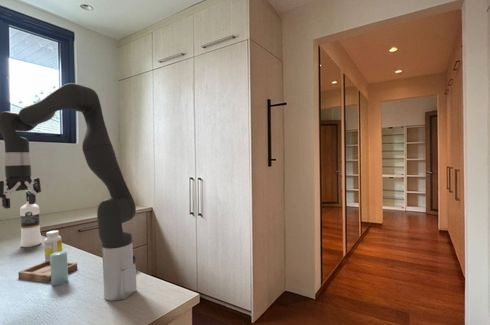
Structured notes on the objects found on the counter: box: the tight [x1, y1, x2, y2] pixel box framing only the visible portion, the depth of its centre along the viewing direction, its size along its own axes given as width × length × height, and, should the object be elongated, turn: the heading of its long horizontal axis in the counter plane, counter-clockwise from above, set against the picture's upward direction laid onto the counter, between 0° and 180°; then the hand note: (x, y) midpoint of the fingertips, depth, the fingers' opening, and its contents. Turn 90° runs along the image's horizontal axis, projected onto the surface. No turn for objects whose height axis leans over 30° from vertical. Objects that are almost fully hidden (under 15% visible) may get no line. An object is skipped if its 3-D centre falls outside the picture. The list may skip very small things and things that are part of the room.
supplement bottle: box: [43, 230, 63, 261], centre depth 122 cm, size 7×7×13 cm
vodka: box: [19, 191, 43, 248], centre depth 143 cm, size 9×9×30 cm
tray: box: [18, 260, 78, 283], centre depth 106 cm, size 16×12×2 cm
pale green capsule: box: [50, 250, 69, 287], centre depth 97 cm, size 5×5×11 cm
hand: (20, 206), depth 99 cm, fingers open, 8 cm apart
